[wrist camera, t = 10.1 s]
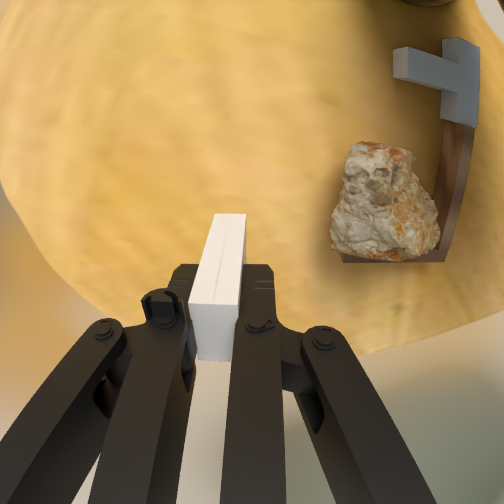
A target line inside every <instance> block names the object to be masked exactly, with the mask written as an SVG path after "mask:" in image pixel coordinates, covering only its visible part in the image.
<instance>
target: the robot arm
mask: <svg viewBox="0 0 504 504" xmlns="http://www.w3.org/2000/svg"><path fill="white" fill-rule="evenodd" d="M402 1H404V2H407V3H411V4H415V5H420V6H437V5H441V4H444V3H447V2H451V1H453V0H402ZM497 1H498V2H499V4H500V6H501V8H502V10H503V12H504V0H497ZM141 303H142V307H143V310H144V313H145V317H146V322H145V323H144V324H141V325H137V326H131V327H125V328H123V327H122V325H121V323H120V322H119V321H117V320H116V319H112V318H105V319H101V320H98V321H96V322H94V323H93V324H92V325H91V326H90V327H89V328H88V329H87V330H86V331H85V332H84V334H83V335H82V336H81V337H80V338H79V340H78V341H77V342H76V343H75V344H74V345H73V346H72V348H71V349H70V350H69V351H68V352H67V354H66V355H65V356H64V357H63V359H62V360H61V361H60V363H59V364H58V365H57V366H56V367H55V368H54V370H53V371H52V372H51V373H50V375H49V376H48V377H47V379H46V380H45V381H44V382H43V384H42V385H41V386H40V388H39V389H38V390H37V391H36V393H35V394H34V395H33V397H32V398H31V399H30V401H29V402H28V403H27V405H26V406H25V407H24V409H23V410H22V411H21V413H20V414H19V416H18V417H17V418H16V420H15V421H14V423H13V424H12V425H11V427H10V428H9V430H8V431H7V433H6V434H5V435H4V437H3V438H2V440H1V441H0V504H71V503H72V502H73V500H74V498H75V496H76V494H77V493H78V491H79V489H80V487H81V486H82V484H83V482H84V480H85V479H86V477H87V475H88V473H89V472H90V470H91V468H92V466H93V465H94V463H95V461H96V460H97V458H98V456H99V454H100V453H101V454H100V457H99V461H98V465H97V468H96V472H95V476H94V480H93V483H92V487H91V492H90V496H89V500H88V504H176V499H177V491H178V484H179V477H180V470H181V463H182V456H183V450H184V443H185V437H186V430H187V424H188V418H189V412H190V405H191V400H192V394H193V388H194V382H195V376H196V366H195V358H196V353H197V356H198V360H208V361H229V362H232V363H231V374H230V386H229V396H228V409H227V420H226V431H225V443H224V455H223V468H222V481H221V493H220V504H286V478H285V477H286V475H285V447H284V446H285V445H284V421H283V397H282V389H283V390H286V391H290V392H293V393H294V396H295V399H296V401H297V404H298V407H299V409H300V412H301V415H302V417H303V420H304V422H305V425H306V427H307V430H308V433H309V435H310V438H311V441H312V443H313V445H314V448H315V451H316V453H317V456H318V458H319V461H320V464H321V466H322V469H323V471H324V474H325V476H326V479H327V481H328V484H329V487H330V489H331V492H332V494H333V496H334V499H335V502H336V504H437V503H436V501H435V499H434V497H433V495H432V493H431V491H430V489H429V487H428V485H427V483H426V481H425V480H424V478H423V476H422V474H421V472H420V470H419V468H418V466H417V464H416V462H415V460H414V458H413V457H412V455H411V453H410V451H409V449H408V448H407V445H406V444H405V442H404V440H403V438H402V436H401V434H400V433H399V431H398V429H397V428H396V426H395V424H394V422H393V420H392V418H391V416H390V415H389V413H388V411H387V410H386V408H385V406H384V404H383V402H382V400H381V399H380V397H379V395H378V393H377V392H376V390H375V388H374V387H373V385H372V383H371V382H370V380H369V378H368V376H367V375H366V373H365V371H364V369H363V368H362V366H361V364H360V362H359V361H358V359H357V357H356V356H355V354H354V352H353V351H352V349H351V347H350V346H349V344H348V342H347V341H346V339H345V337H344V336H343V335H342V334H341V333H340V332H339V331H338V330H336V329H334V328H332V327H328V326H315V327H313V328H310V329H308V330H307V331H306V332H305V333H300V332H296V331H293V330H290V329H288V328H286V327H284V326H283V325H282V324H281V323H280V322H279V321H278V319H277V316H276V304H275V289H274V273H273V271H272V269H271V268H270V267H269V265H268V264H246V214H215V216H214V219H213V222H212V225H211V228H210V232H209V235H208V238H207V241H206V244H205V248H204V251H203V254H202V257H201V261H200V264H181V265H180V266H179V267H178V268H177V269H175V270H174V272H173V274H172V277H171V280H170V282H169V284H168V287H167V288H161V289H156V290H153V291H150V292H149V293H147V294H146V295H144V297H143V298H142V299H141Z"/></svg>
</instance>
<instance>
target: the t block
mask: <svg viewBox="0 0 504 504" xmlns="http://www.w3.org/2000/svg"><path fill="white" fill-rule="evenodd" d="M393 78H396V79H400V80H404V81H408V82H412V83H416V84H419V85H423V86H427V87H430V88H433V89H437V90H440V91H441V106H440V118H441V119H445V120H449V121H453V122H456V123H460V124H463V125H467V126H470V127H473V128H477V118H478V107H479V91H480V47H478V46H476V45H474V44H472V43H470V42H468V41H466V40H464V39H461V38H459V37H456V38H449V39H442V58H441V57H438V56H436V55H433V54H430V53H427V52H424V51H421V50H418V49H414V48H411V47H403V48H398V49H394V50H393Z"/></svg>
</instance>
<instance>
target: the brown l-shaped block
mask: <svg viewBox="0 0 504 504" xmlns="http://www.w3.org/2000/svg"><path fill="white" fill-rule="evenodd" d="M474 131H475V128H473V127H470V126H467V125H463V124H460V123H456V122H453V121H449V120H445V125H444V134H443V141H442V149H441V155H440V162H439V168H438V174H437V179H436V184H435V189H434V194H433V199H432V200H434V203H435V207H436V209H437V211H438V216H437V217H436V218H437V223H438V225H439V228H440V239H439V241H438V242H437V243H436V246H435V247H434V248H433V249H432V250H428V253H427V254H421V255H420V257H419V256H417V257H416V258H413V259H409V258H407V259H406V260H403V261H401V262H444V261H445V258H446V255H447V252H448V249H449V246H450V243H451V240H452V236H453V233H454V229H455V226H456V222H457V219H458V215H459V211H460V207H461V203H462V199H463V194H464V190H465V185H466V180H467V175H468V170H469V165H470V159H471V153H472V146H473V139H474ZM338 252H339V251H338ZM339 255H340V257H341V259H342V261H343V263H383V262H396V261H389V260H381V259H371V258H364V257H359V256H354V255H349V254H346V253H343V252H339Z"/></svg>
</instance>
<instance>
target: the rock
mask: <svg viewBox="0 0 504 504" xmlns="http://www.w3.org/2000/svg"><path fill="white" fill-rule="evenodd" d="M414 162H415V156H414V154H413V153H412V152H411V151H407V150H405V149H403V148H397V147H393V146H387V145H383V144H380V143H377V144H374V143H372V142H368V143H365V142H363V141H361V142H359V143H357V144H355V145H351V148H350V152H349V153H348V154H347V157H346V160H345V166H344V175H343V176H342V180H343V181H344V182H345V183H344V185H343V188H342V190H341V191H340V192H339V200H338V203H337V204H336V207H335V209H334V210H333V213H332V215H331V223H330V227H331V228H330V230H329V232H330V233H331V238H332V245H331V247H330V249H331V250H337V251H339V252H343V253H346V254H349V255H354V256H359V257H364V258H371V259H381V260H389V261H396V262H401V261H403V260H406V259H407V258H409V259H413V258H416V257H417V256H419V257H420V255H421V254H427V253H428V250H432V249H433V248H434V247H435V246H436V243H437V242H438V241H439V239H440V228H439V225H438V223H437V218H436V217H437V216H438V211H437V209H436V207H435V203H434V200H432V199H431V198H430V196H429V194H428V192H426V191H425V190H424V189H423V186H420V185H419V183H420V180H419V178H418V177H417V176H416V175H415V173H414V172H413V171H412V166H413V163H414Z"/></svg>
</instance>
